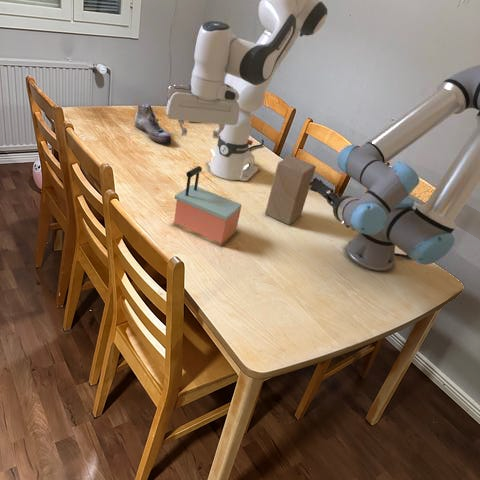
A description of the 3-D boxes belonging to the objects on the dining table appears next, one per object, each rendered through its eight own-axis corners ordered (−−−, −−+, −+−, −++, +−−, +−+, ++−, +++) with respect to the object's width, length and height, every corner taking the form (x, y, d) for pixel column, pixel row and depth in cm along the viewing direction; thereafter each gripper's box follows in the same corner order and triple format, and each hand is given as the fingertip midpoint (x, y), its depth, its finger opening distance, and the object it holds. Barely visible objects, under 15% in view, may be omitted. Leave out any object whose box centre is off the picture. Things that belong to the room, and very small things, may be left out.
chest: (173, 225, 138) (176, 199, 133) (190, 213, 146) (194, 188, 142) (220, 246, 133) (225, 220, 129) (235, 232, 142) (241, 208, 137)
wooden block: (289, 225, 152) (304, 173, 141) (264, 214, 155) (277, 162, 145) (301, 216, 159) (316, 165, 149) (277, 205, 163) (290, 155, 152)
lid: (174, 198, 134) (177, 171, 129) (192, 187, 142) (195, 161, 137) (225, 220, 129) (231, 192, 124) (241, 207, 137) (247, 181, 132)
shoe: (175, 145, 192) (178, 118, 185) (151, 146, 186) (153, 118, 180) (154, 124, 209) (157, 98, 202) (132, 124, 203) (133, 97, 197)
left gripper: (169, 86, 113) (164, 137, 121) (244, 95, 120) (235, 143, 127) (166, 79, 118) (162, 128, 126) (239, 88, 125) (230, 135, 132)
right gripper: (309, 188, 115) (292, 181, 136) (370, 252, 120) (345, 236, 141) (329, 167, 115) (309, 164, 135) (390, 233, 120) (362, 220, 141)
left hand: (199, 136), depth 127 cm, fingers open, 8 cm apart
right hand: (327, 201), depth 138 cm, fingers open, 13 cm apart
